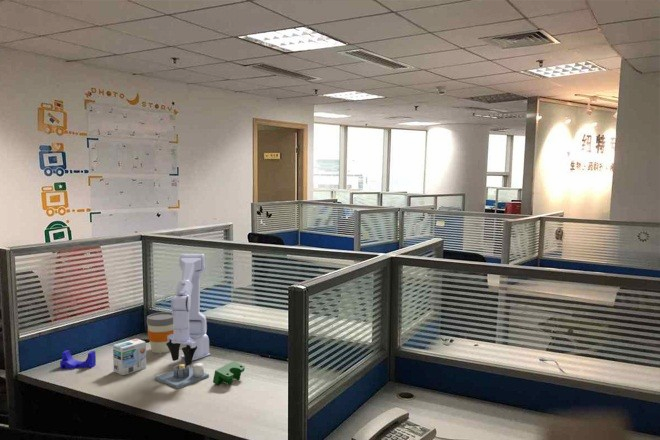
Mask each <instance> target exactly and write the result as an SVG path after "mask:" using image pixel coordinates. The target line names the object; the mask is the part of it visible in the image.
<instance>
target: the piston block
mask: <svg viewBox="0 0 660 440" xmlns="http://www.w3.org/2000/svg"><path fill="white" fill-rule="evenodd" d="M180 364H181V365H179V364H178V365H179V369H183V368H185V365H184V364H185V363H180ZM204 366H205V365H204V363H203V362H202V363H201V362H196V363H193V364H192V368H191V367H190V375H189V377H187V378H184V379H177V378H174V369H173V370H170V371H168V372H164V373H162V374H159V375H157V376H154V380H155V381H158V382H160V383H163V384H166V385H168V386H170V387H172V388H176V389H177V390H179V389H182V388H185V387H186V386H187V387H188V386H190V385H192V384H194V383H197V382H199V381H200V382H201V381H202V380H205V379H207V378H209V377H210V374H209V373H206V372H204V369H205V367H204Z"/></svg>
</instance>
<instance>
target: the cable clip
mask: <svg viewBox="0 0 660 440" xmlns="http://www.w3.org/2000/svg"><path fill="white" fill-rule="evenodd" d="M96 356H97V355H96V350H91V351H89V352H88V353H87V357H86V359H85V360H84V361H80V360H77V359H75V358H74V357H73V356H72V354H71V350H69V349H68V350H67V349H66V350H64V351H63V352H61V360H60V361H59V367H60V369H61V370H63V369H66V370H67V369H69V370H76V369H77V368H78V369H79V368H85V369H92V368H94V367H95V366H97V364H96V363H97V361H96V360H97V359H96V358H97V357H96Z"/></svg>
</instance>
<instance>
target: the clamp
mask: <svg viewBox="0 0 660 440" xmlns="http://www.w3.org/2000/svg"><path fill="white" fill-rule="evenodd" d="M245 367H246V366H245V365H243V364H241V363H239V362H237V361H236V360H232V361H230V362H228V363H226V364H225V365H223V366H220V367H219V368H217V369H215V371H214V374H213V379H212V383H213V384H214V385H217V386H220V385H221V384H223V383H225V384H226V385H228V386H232V384H233V380H237V381H240V380H241V375H242V373H243V372H244V371H245Z"/></svg>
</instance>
